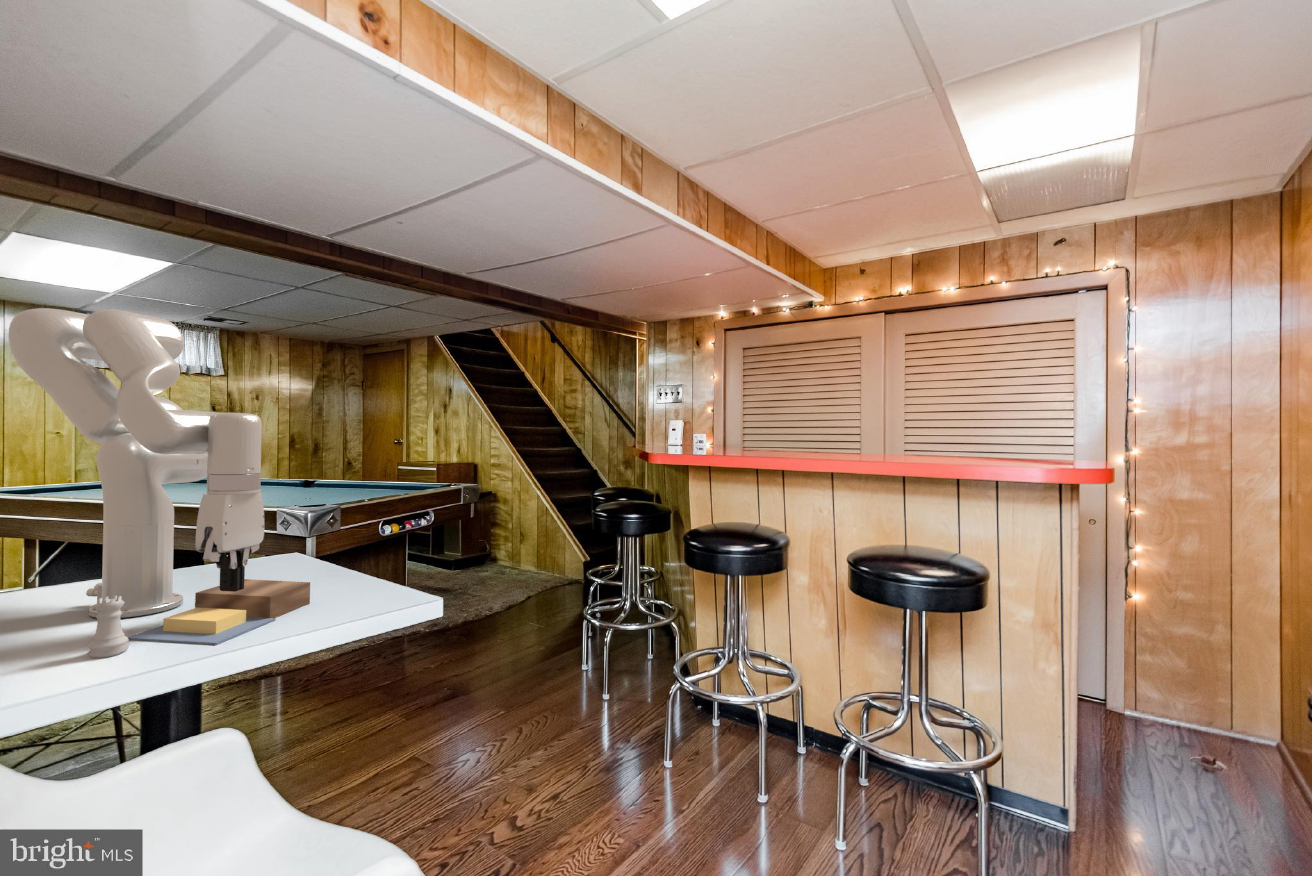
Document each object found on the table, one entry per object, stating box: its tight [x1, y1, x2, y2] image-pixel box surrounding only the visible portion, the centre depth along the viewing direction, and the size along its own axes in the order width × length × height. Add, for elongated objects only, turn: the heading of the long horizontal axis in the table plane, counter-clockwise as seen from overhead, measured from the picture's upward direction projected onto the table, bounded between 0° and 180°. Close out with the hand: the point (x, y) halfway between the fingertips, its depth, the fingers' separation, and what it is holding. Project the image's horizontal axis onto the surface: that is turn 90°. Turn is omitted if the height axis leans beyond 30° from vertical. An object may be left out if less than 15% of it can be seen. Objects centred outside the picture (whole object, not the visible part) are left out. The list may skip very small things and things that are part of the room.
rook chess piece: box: [86, 596, 130, 659], centre depth 83 cm, size 4×4×8 cm
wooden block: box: [194, 578, 311, 618], centre depth 105 cm, size 14×10×4 cm
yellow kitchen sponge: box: [162, 607, 246, 634], centre depth 95 cm, size 9×6×2 cm, turn 85°
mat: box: [127, 617, 277, 646], centre depth 94 cm, size 15×12×1 cm
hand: (231, 589), depth 100 cm, fingers closed
